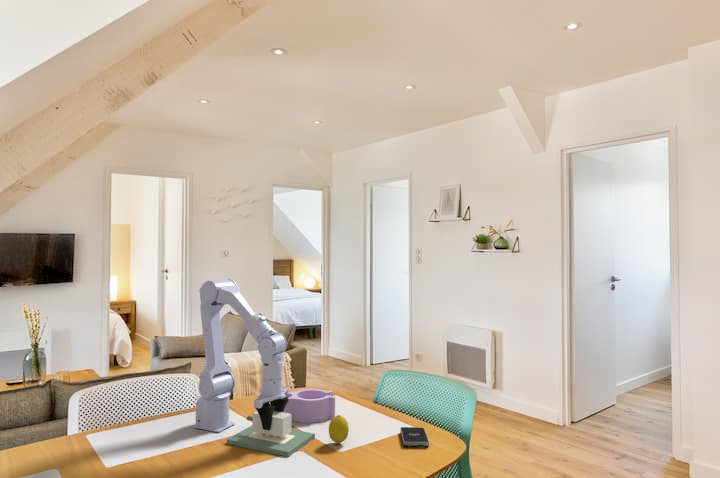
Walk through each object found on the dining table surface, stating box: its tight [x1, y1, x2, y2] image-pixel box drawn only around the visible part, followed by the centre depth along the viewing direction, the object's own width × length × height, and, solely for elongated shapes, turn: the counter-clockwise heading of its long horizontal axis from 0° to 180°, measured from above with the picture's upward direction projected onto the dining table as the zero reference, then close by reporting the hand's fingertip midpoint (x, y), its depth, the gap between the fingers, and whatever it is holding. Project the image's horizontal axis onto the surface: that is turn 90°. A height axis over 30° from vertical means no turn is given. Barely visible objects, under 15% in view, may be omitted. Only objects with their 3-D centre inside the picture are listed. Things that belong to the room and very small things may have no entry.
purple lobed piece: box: [283, 388, 336, 423], centre depth 158 cm, size 20×12×7 cm, turn 98°
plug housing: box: [246, 411, 293, 437], centre depth 138 cm, size 13×4×5 cm, turn 66°
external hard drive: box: [399, 426, 430, 449], centre depth 140 cm, size 7×11×2 cm, turn 0°
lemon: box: [328, 414, 350, 445], centre depth 136 cm, size 6×6×8 cm
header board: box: [226, 425, 316, 458], centre depth 138 cm, size 20×14×4 cm
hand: (271, 426), depth 138 cm, fingers closed on plug housing, 4 cm apart
